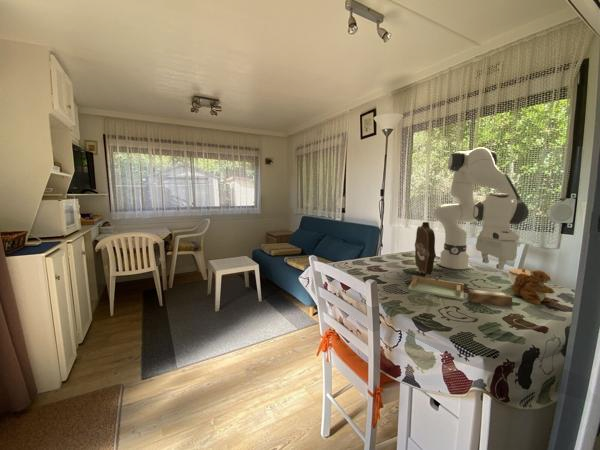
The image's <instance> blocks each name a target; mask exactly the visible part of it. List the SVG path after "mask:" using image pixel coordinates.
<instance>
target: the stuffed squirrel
mask: <svg viewBox="0 0 600 450" xmlns="http://www.w3.org/2000/svg"><path fill="white" fill-rule="evenodd" d="M529 271H530V273H531V276H529V275H527V274H522V273H521V274H519V275H518V276H517V277H516V278H515V282H514V285H513V284H512V287H511V291H512V293H513V294H514V295H515V296H518V297H521V298H523V300H524V301H526V302H528V303H531V304H533V305H536V306H540V305H541V302H546V301H547V302H548V303H551V302H552V299H551V298H550V297H548V296H546V294H554V293H555V289H553V288H552V287H549V286H547V285H545V284H547V283H548V282H551V281H552V279H551V278H550V275H548V274H547V273H546V272H545V271H543V270H540V269H538V270H537V269H536V270H529ZM547 302H546V303H547Z"/></svg>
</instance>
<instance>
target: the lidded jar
mask: <svg viewBox="0 0 600 450" xmlns="http://www.w3.org/2000/svg"><path fill="white" fill-rule="evenodd" d="M530 271H531V270H527V269H526V268H522V269H521V268H511V269H508V279H509V282H510V283H511V285H512V286H513V285H514V282H515V278H516V277H517V276H518V275H519V274H521V273H522V274H527V275H529V276H531V273H530Z"/></svg>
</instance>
